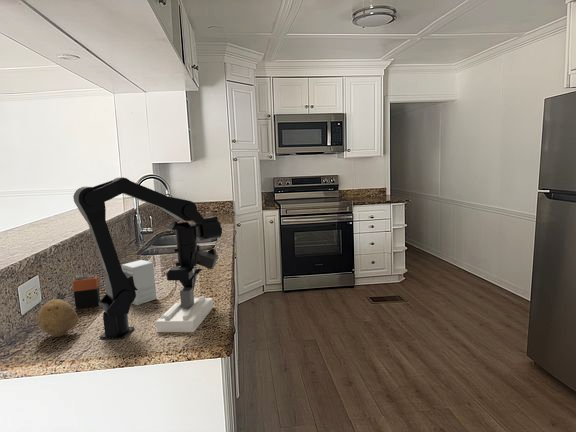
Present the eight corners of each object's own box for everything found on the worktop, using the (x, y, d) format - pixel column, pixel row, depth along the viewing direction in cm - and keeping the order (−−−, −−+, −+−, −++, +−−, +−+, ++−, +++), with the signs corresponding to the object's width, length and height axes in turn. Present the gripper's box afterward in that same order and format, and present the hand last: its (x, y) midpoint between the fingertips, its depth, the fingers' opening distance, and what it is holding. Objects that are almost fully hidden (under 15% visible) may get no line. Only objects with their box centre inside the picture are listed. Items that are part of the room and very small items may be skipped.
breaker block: (193, 332, 106) (192, 317, 106) (157, 332, 107) (155, 317, 107) (213, 307, 124) (212, 294, 123) (181, 307, 125) (180, 295, 124)
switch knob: (190, 307, 115) (189, 290, 114) (181, 307, 115) (179, 290, 114) (194, 304, 118) (192, 287, 117) (185, 304, 118) (183, 287, 117)
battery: (78, 304, 133) (74, 274, 131) (100, 301, 135) (97, 272, 133) (75, 309, 128) (71, 278, 127) (98, 305, 130) (95, 275, 129)
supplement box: (145, 295, 139) (141, 259, 137) (157, 299, 134) (153, 262, 132) (124, 301, 133) (120, 264, 132) (136, 305, 128) (132, 267, 127)
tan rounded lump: (32, 338, 107) (27, 302, 106) (66, 326, 114) (62, 292, 113) (50, 345, 102) (45, 307, 101) (84, 332, 109) (80, 297, 108)
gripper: (204, 249, 107) (208, 306, 109) (222, 236, 126) (225, 285, 128) (163, 250, 108) (168, 306, 111) (187, 237, 127) (191, 285, 129)
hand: (190, 295), depth 119 cm, fingers closed
